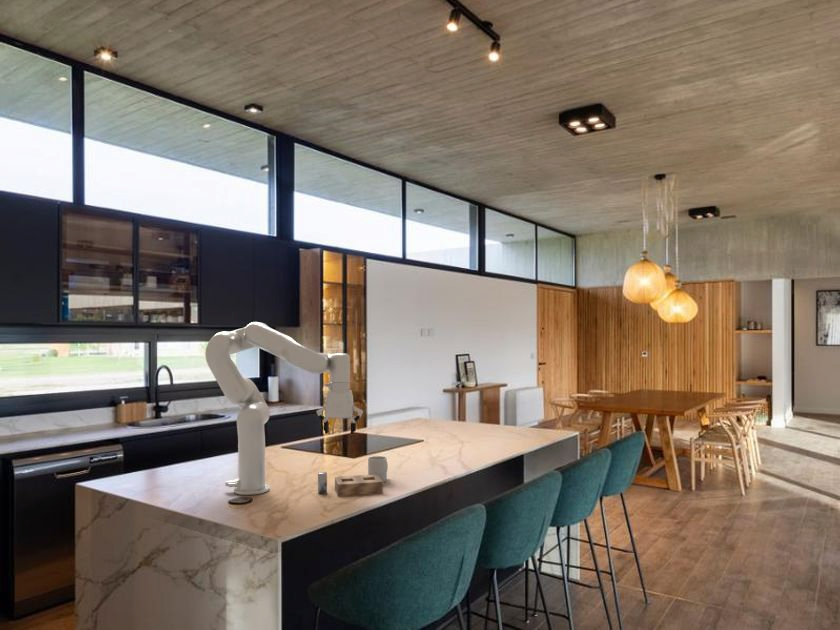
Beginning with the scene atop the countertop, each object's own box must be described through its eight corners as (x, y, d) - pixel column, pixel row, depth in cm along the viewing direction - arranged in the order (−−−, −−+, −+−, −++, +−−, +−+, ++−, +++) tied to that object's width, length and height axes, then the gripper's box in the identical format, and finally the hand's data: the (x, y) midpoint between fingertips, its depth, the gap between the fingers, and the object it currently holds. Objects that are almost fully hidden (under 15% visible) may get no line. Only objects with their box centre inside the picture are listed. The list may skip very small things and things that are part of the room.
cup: (364, 482, 238) (364, 458, 238) (379, 476, 246) (379, 454, 246) (379, 484, 234) (379, 460, 234) (394, 478, 242) (394, 456, 243)
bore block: (338, 495, 217) (337, 484, 218) (334, 487, 229) (334, 476, 229) (382, 492, 221) (382, 481, 221) (377, 484, 233) (377, 474, 233)
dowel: (318, 494, 220) (318, 474, 220) (317, 491, 223) (317, 472, 224) (327, 493, 221) (327, 473, 221) (326, 491, 224) (326, 471, 224)
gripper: (314, 387, 225) (314, 434, 224) (360, 387, 223) (360, 435, 222) (319, 385, 232) (319, 431, 232) (364, 386, 230) (364, 432, 230)
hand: (339, 433), depth 227 cm, fingers open, 9 cm apart
